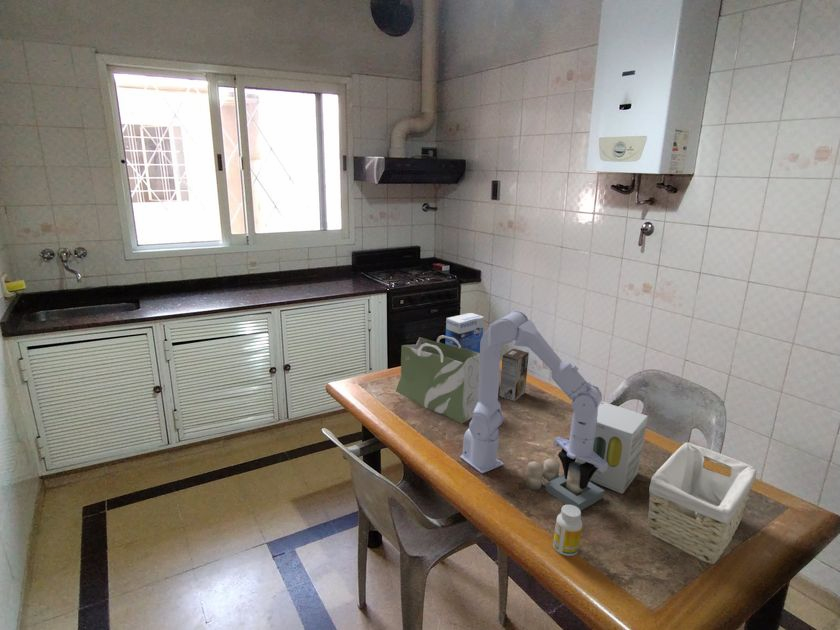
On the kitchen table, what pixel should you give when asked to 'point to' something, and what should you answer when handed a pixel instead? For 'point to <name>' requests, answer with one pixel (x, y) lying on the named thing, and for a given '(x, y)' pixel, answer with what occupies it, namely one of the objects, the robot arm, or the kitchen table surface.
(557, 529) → the supplement bottle
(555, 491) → the collar block
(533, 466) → the medium pin
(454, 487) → the kitchen table surface
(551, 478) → the short pin
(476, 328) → the string lights box
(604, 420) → the supplement box
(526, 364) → the coffee box
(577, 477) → the long pin
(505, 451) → the kitchen table surface
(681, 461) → the storage basket
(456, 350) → the grocery bag
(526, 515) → the kitchen table surface
